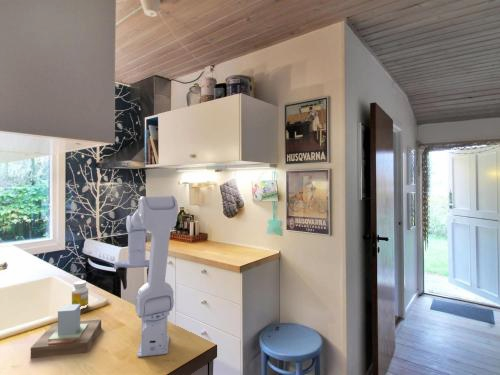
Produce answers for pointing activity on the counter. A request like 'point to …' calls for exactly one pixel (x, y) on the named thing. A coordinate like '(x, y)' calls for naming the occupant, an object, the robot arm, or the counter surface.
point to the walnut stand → (66, 340)
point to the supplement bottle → (80, 293)
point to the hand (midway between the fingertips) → (136, 287)
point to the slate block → (69, 319)
